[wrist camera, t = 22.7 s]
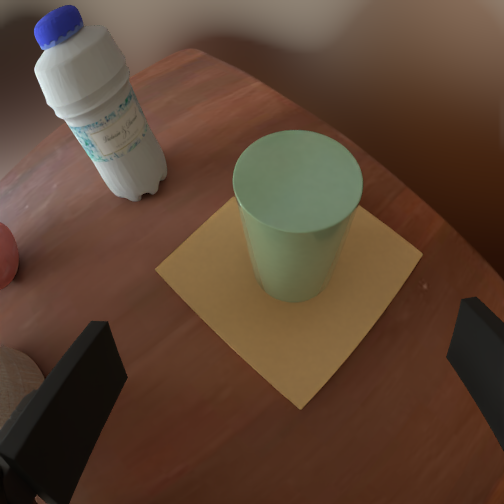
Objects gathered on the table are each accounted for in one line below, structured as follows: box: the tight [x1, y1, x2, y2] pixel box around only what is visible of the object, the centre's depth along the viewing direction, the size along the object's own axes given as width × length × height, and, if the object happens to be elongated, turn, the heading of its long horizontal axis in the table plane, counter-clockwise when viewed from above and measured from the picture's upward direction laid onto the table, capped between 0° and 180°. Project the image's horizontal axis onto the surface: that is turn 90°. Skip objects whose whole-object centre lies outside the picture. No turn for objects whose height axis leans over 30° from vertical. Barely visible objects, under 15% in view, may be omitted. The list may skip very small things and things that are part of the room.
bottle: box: [34, 5, 167, 201], centre depth 22 cm, size 7×7×20 cm
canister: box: [233, 130, 363, 303], centre depth 20 cm, size 6×6×11 cm
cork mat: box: [155, 196, 423, 410], centre depth 25 cm, size 16×16×1 cm
